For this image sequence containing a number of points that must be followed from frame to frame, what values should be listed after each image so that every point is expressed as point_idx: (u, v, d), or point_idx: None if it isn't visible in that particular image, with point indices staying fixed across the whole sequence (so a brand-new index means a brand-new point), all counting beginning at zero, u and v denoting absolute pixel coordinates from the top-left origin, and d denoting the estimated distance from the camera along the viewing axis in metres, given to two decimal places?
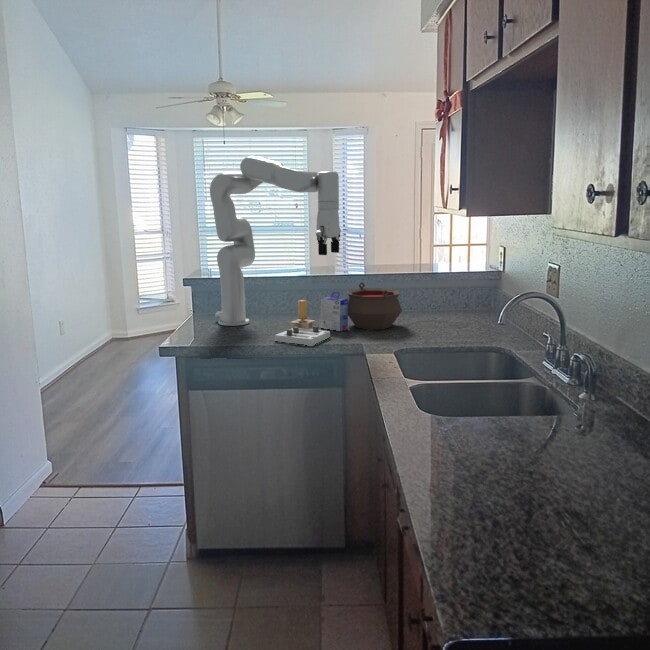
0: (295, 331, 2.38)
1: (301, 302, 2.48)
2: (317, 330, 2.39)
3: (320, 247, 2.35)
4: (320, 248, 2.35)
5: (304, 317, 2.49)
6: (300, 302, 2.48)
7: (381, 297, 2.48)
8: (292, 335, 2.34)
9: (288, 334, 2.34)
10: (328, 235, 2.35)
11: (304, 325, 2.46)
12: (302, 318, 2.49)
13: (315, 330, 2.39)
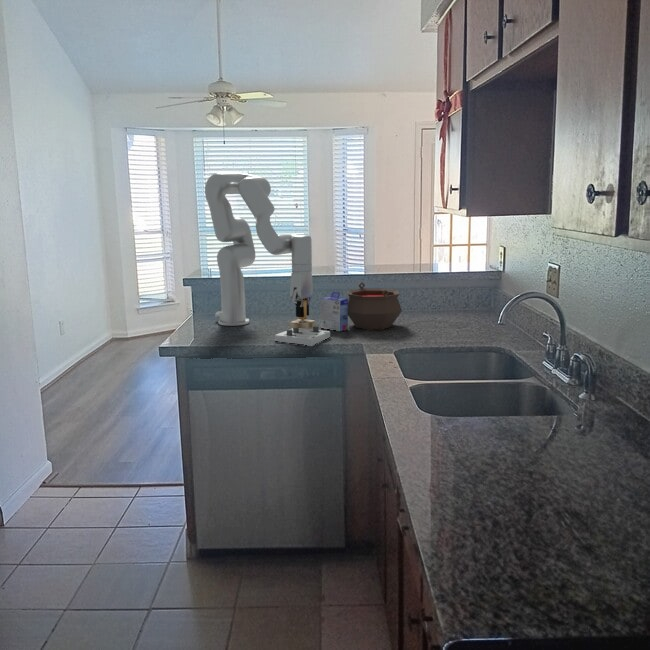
0: (295, 331, 2.38)
1: None
2: (317, 330, 2.39)
3: (297, 310, 2.47)
4: (297, 311, 2.47)
5: (304, 317, 2.49)
6: None
7: (381, 297, 2.48)
8: (292, 335, 2.34)
9: (288, 334, 2.34)
10: (301, 296, 2.44)
11: (304, 325, 2.46)
12: (302, 318, 2.49)
13: (315, 330, 2.39)
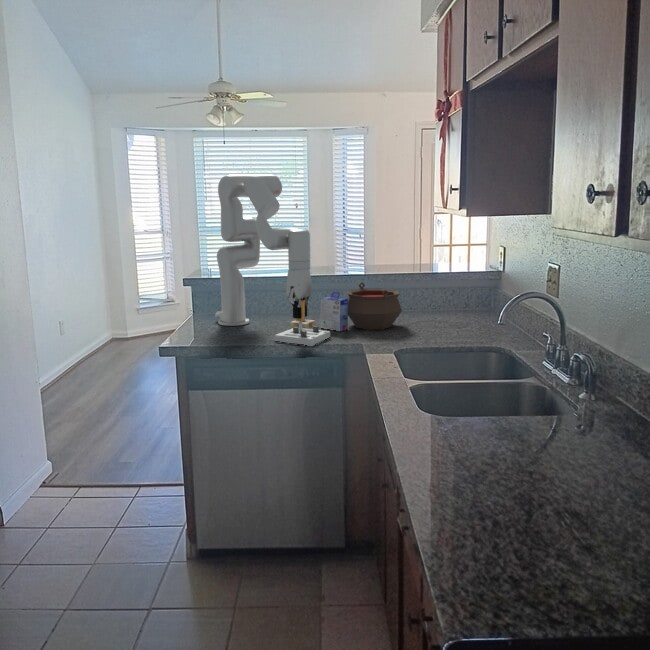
0: (295, 331, 2.38)
1: None
2: (317, 330, 2.39)
3: (294, 310, 2.28)
4: (294, 311, 2.28)
5: (302, 318, 2.30)
6: None
7: (381, 297, 2.48)
8: (306, 337, 2.31)
9: (302, 336, 2.31)
10: (298, 296, 2.25)
11: (304, 325, 2.46)
12: (300, 320, 2.30)
13: (315, 330, 2.39)
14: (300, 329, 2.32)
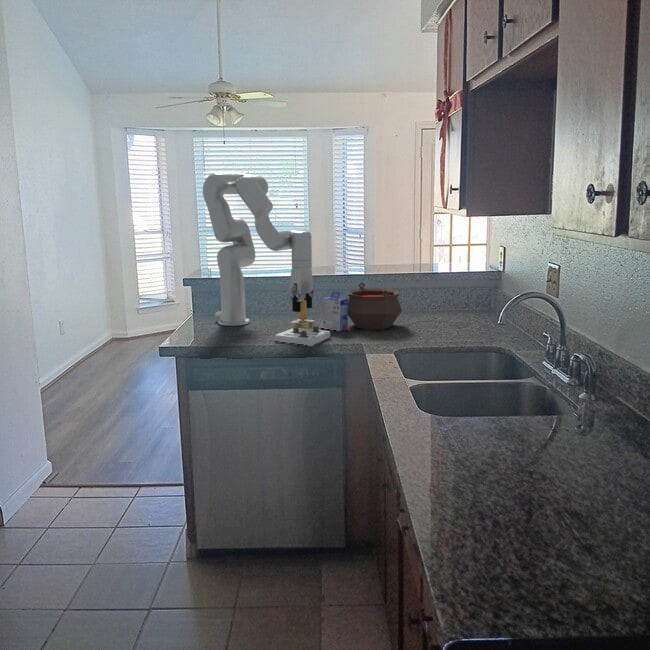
0: (295, 331, 2.38)
1: (301, 302, 2.47)
2: (317, 330, 2.39)
3: (294, 304, 2.45)
4: (294, 305, 2.45)
5: (304, 317, 2.49)
6: (300, 302, 2.48)
7: (381, 297, 2.48)
8: (306, 337, 2.31)
9: (302, 336, 2.31)
10: (301, 292, 2.44)
11: (304, 325, 2.46)
12: (302, 318, 2.49)
13: (315, 330, 2.39)
14: None
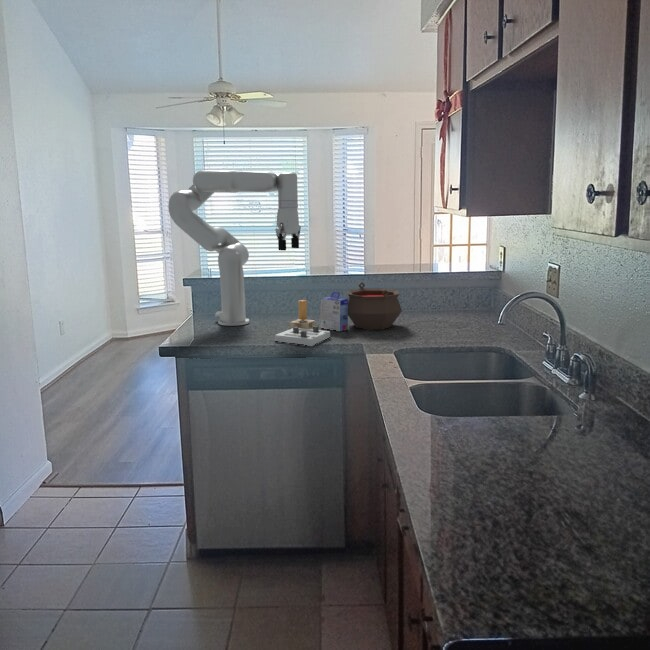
0: (295, 331, 2.38)
1: (301, 302, 2.47)
2: (317, 330, 2.39)
3: (280, 243, 2.52)
4: (280, 244, 2.53)
5: (304, 317, 2.49)
6: (300, 302, 2.48)
7: (381, 297, 2.48)
8: (306, 337, 2.31)
9: (302, 336, 2.31)
10: (287, 232, 2.52)
11: (304, 325, 2.46)
12: (302, 318, 2.49)
13: (315, 330, 2.39)
14: None
